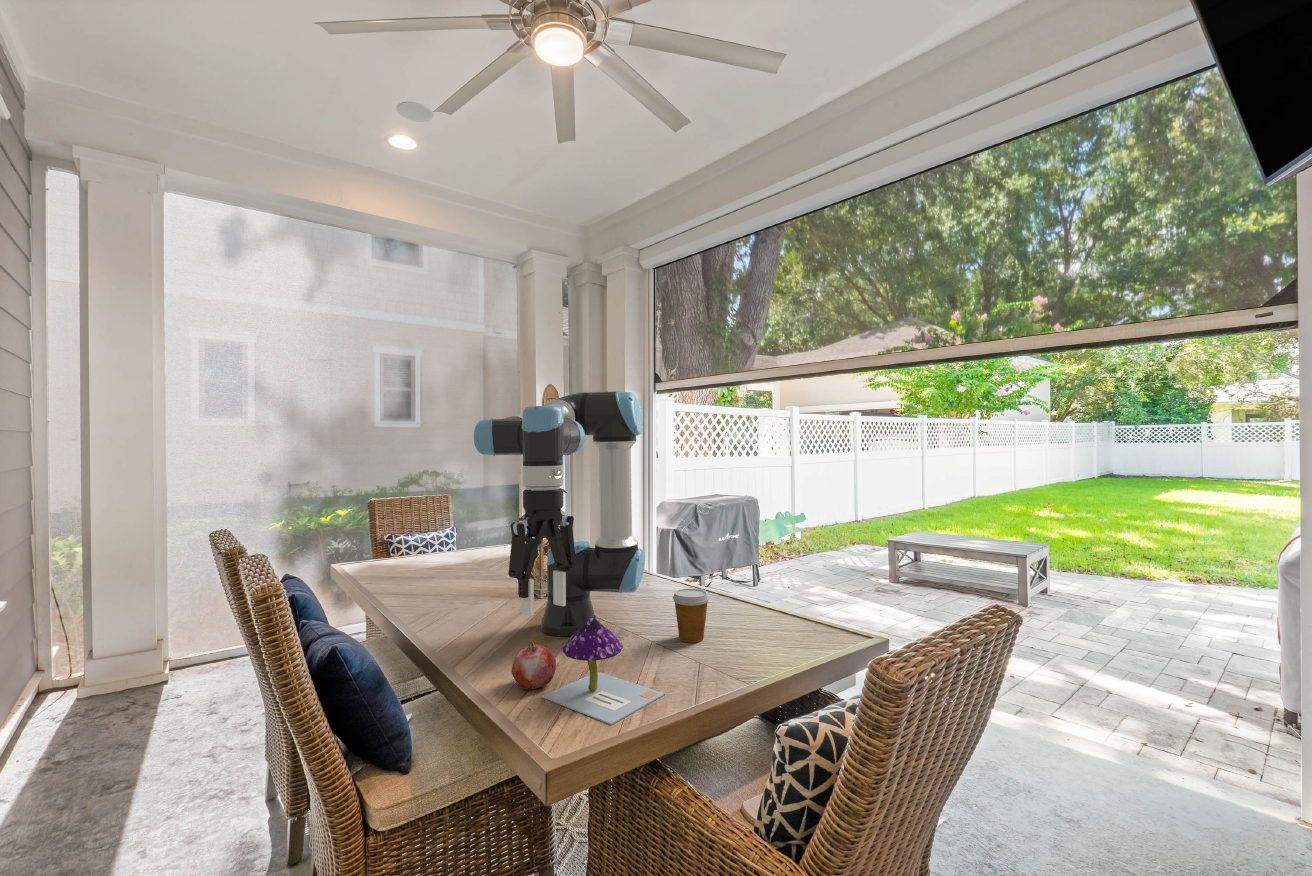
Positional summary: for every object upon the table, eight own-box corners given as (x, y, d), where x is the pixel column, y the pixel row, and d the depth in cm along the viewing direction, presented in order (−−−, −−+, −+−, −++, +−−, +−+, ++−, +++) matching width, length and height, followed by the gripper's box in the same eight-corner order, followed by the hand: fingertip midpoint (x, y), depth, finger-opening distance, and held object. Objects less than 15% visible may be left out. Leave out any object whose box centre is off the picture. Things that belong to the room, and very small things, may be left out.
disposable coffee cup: (707, 646, 149) (707, 598, 149) (670, 643, 151) (669, 596, 151) (711, 633, 158) (711, 588, 158) (676, 631, 160) (676, 587, 160)
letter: (542, 697, 120) (542, 695, 120) (597, 672, 133) (597, 670, 133) (611, 725, 108) (611, 722, 108) (664, 694, 121) (664, 692, 121)
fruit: (539, 673, 133) (539, 628, 133) (564, 685, 126) (564, 638, 126) (503, 685, 126) (502, 638, 126) (527, 699, 120) (527, 649, 120)
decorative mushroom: (577, 675, 130) (577, 607, 130) (631, 682, 127) (631, 611, 127) (551, 700, 118) (551, 624, 118) (610, 708, 115) (609, 630, 115)
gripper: (512, 493, 102) (513, 626, 102) (594, 485, 118) (595, 601, 118) (486, 490, 107) (487, 618, 107) (568, 483, 122) (569, 595, 122)
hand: (544, 609), depth 112 cm, fingers open, 7 cm apart
